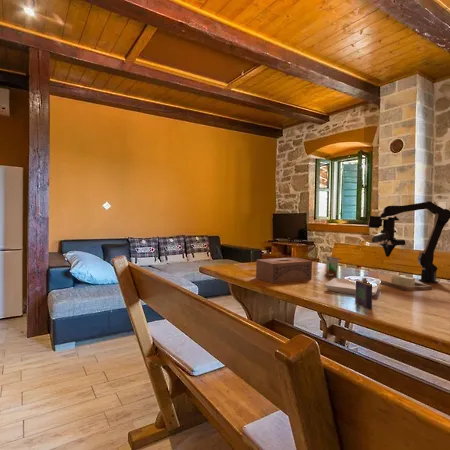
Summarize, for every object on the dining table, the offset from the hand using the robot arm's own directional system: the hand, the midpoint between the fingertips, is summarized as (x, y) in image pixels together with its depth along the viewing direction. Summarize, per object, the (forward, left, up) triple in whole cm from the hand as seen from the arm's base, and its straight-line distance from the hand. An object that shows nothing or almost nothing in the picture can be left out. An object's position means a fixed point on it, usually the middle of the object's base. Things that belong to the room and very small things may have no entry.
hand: (387, 256), depth 177 cm
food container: (+26, -12, -12) cm, 31 cm away
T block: (+4, +17, -12) cm, 21 cm away
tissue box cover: (+58, -9, -12) cm, 60 cm away
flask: (+50, +43, -12) cm, 67 cm away
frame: (+6, +18, -12) cm, 22 cm away
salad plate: (+38, +21, -13) cm, 45 cm away
